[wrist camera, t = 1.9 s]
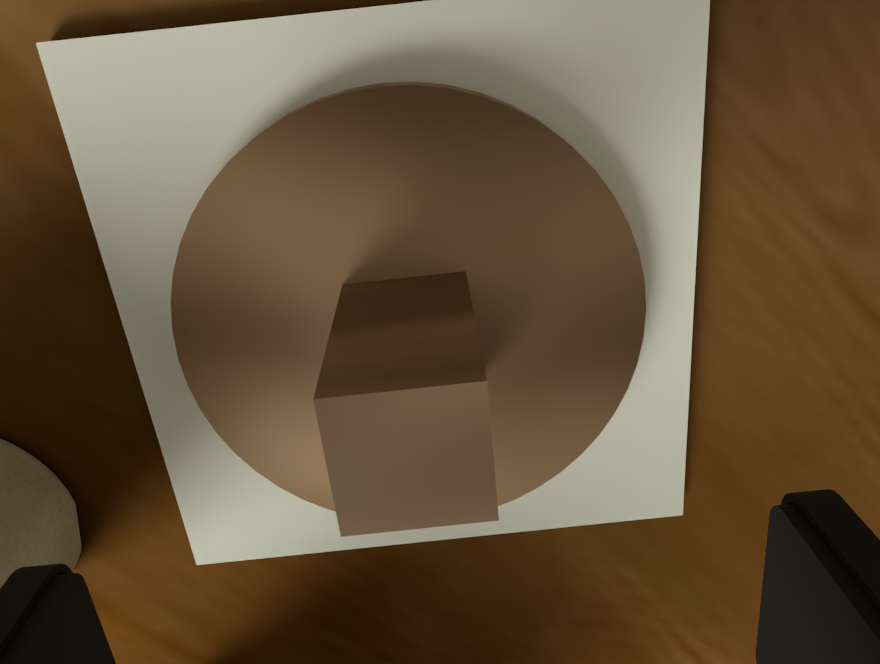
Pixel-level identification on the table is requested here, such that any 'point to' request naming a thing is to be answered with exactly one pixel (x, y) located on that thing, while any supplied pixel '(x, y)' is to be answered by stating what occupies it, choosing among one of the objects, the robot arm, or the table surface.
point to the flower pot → (34, 515)
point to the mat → (386, 61)
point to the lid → (408, 305)
